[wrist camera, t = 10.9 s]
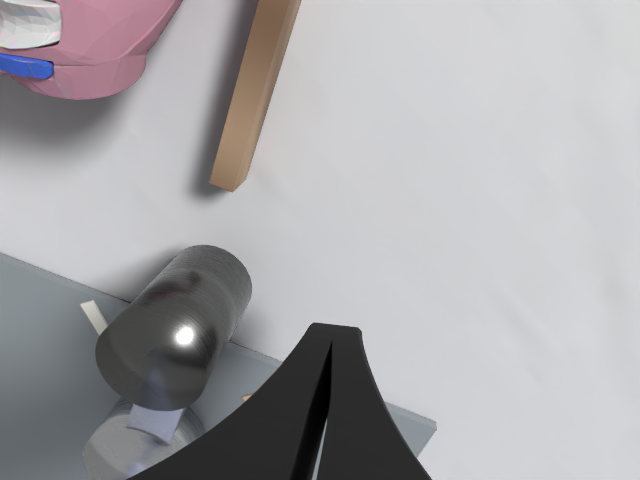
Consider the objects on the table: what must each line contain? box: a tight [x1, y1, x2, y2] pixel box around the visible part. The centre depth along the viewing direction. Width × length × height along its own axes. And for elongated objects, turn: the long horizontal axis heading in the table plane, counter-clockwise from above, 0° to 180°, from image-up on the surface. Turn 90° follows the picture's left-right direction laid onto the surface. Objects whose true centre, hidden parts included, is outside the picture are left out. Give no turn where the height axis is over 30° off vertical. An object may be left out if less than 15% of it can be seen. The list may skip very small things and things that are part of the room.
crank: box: [83, 245, 252, 480], centre depth 16 cm, size 13×4×5 cm, turn 156°
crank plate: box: [0, 253, 437, 480], centre depth 21 cm, size 15×22×1 cm
